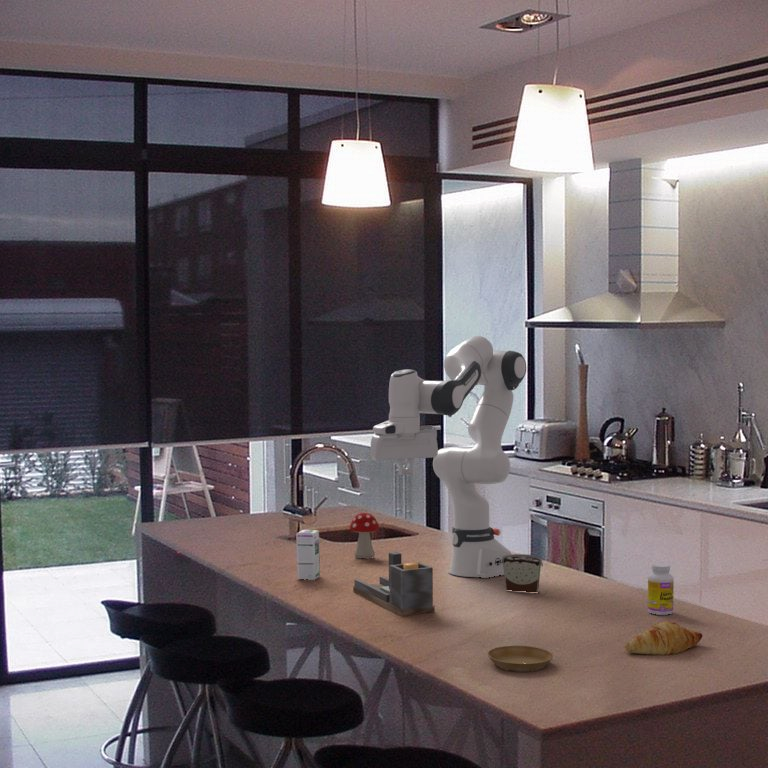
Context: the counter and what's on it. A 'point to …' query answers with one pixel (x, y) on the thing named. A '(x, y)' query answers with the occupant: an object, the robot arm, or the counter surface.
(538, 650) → the plant saucer
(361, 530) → the decorative mushroom
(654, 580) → the supplement bottle
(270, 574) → the counter surface
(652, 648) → the croissant
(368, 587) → the rail
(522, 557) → the food container
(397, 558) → the carriage
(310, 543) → the syrup box
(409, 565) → the button
